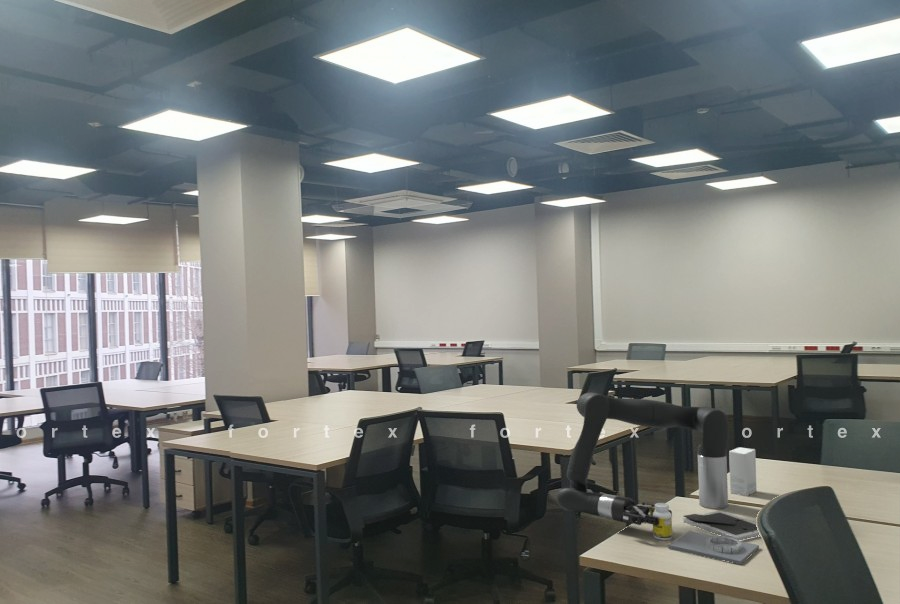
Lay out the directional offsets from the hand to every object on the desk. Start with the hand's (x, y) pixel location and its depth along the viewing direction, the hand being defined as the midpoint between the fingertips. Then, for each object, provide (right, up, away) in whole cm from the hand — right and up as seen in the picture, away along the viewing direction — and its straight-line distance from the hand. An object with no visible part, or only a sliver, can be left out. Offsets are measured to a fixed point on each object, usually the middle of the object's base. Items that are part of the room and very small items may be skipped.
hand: (665, 517), depth 197 cm
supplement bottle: (0, -6, +1) cm, 6 cm away
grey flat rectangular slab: (+11, -6, -10) cm, 15 cm away
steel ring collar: (+13, -5, -12) cm, 18 cm away
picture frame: (+22, -6, +7) cm, 24 cm away
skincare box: (+43, -5, +43) cm, 61 cm away
